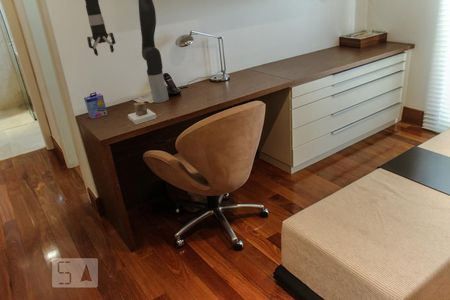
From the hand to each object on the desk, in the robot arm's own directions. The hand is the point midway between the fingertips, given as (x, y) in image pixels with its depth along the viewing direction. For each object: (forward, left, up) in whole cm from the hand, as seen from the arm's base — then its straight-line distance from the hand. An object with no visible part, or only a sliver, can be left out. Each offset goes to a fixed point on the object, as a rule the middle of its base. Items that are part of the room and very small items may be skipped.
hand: (104, 53), depth 201 cm
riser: (-6, +24, -34) cm, 42 cm away
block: (-6, +24, -32) cm, 40 cm away
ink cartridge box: (+12, -2, -34) cm, 36 cm away
